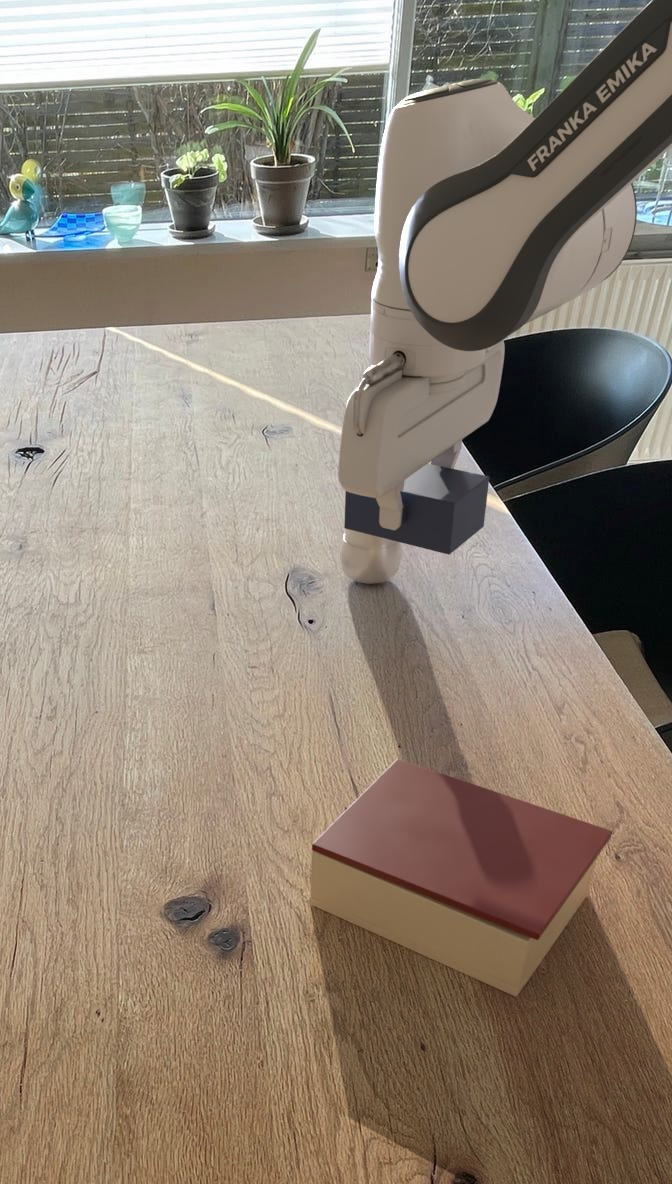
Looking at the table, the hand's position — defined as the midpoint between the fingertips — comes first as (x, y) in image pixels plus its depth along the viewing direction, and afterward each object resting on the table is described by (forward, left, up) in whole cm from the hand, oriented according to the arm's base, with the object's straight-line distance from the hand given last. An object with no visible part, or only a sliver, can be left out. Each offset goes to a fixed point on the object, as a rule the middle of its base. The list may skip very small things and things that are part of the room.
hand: (415, 509), depth 95 cm
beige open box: (-17, +23, -18) cm, 34 cm away
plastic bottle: (+14, -19, -18) cm, 29 cm away
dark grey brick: (0, 0, -2) cm, 2 cm away
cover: (-17, +23, -12) cm, 32 cm away
